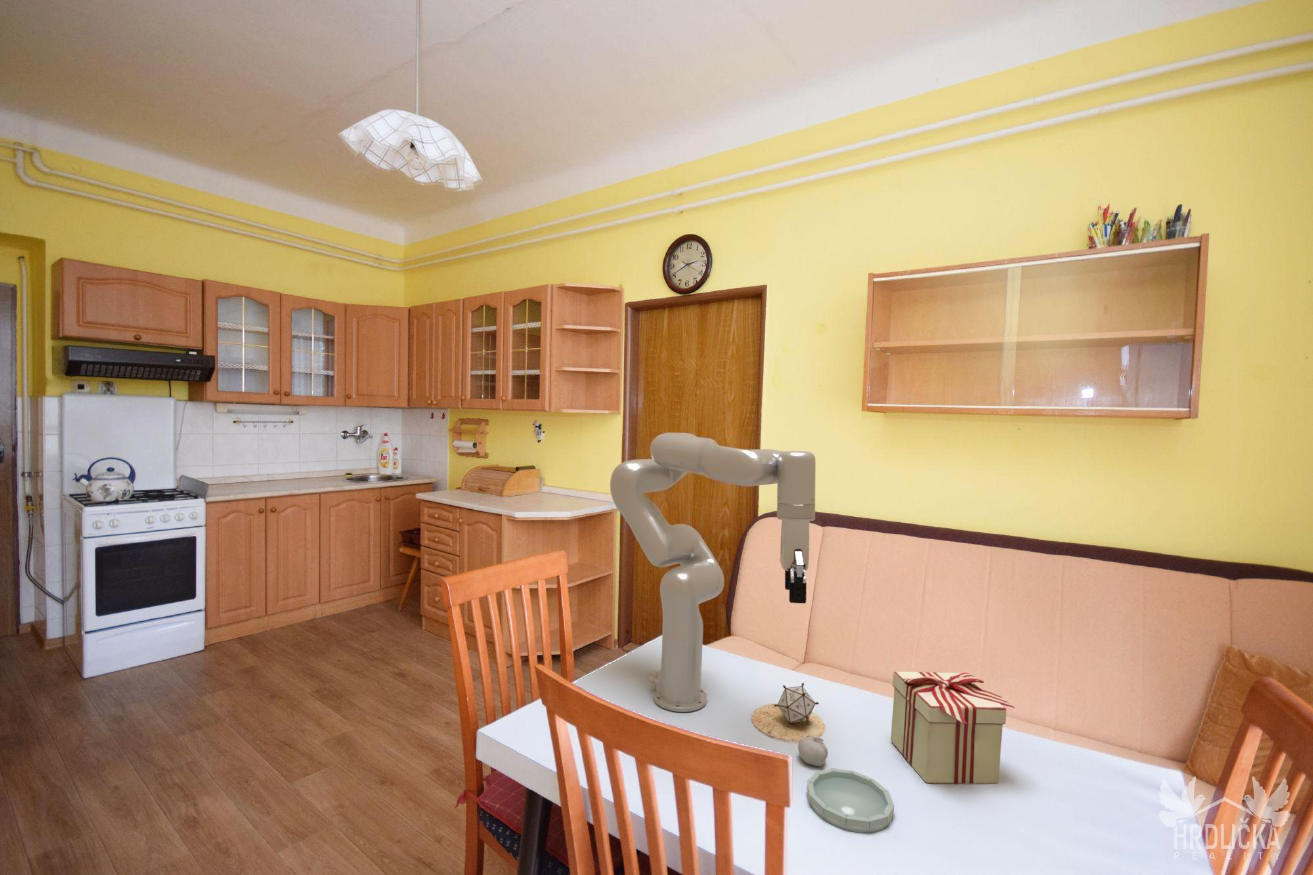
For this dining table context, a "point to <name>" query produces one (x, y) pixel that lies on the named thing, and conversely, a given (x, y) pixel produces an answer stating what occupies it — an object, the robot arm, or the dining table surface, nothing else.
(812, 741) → the garlic
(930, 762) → the gift box
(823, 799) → the plate
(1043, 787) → the dining table surface
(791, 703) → the game die
